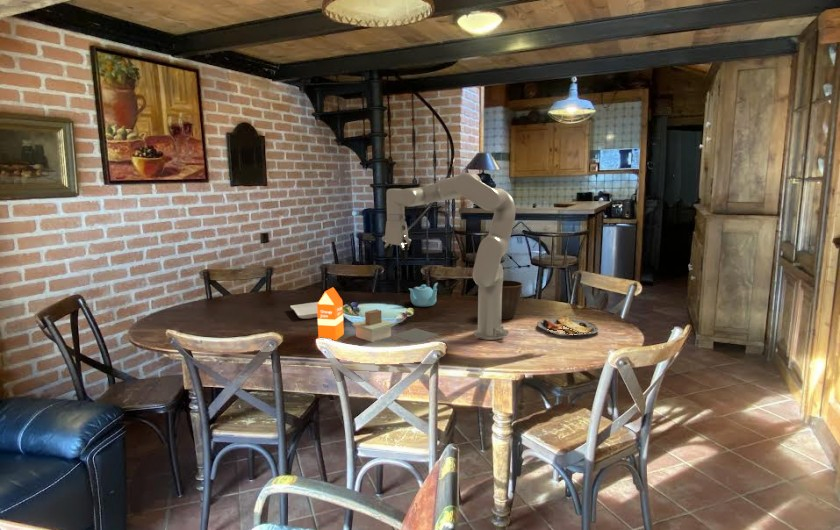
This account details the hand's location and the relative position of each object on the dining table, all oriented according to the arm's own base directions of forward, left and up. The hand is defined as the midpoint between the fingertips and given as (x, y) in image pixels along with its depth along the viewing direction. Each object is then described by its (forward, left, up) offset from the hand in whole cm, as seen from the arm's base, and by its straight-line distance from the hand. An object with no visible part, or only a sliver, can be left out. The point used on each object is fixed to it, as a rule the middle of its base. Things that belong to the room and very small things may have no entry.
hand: (396, 257), depth 224 cm
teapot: (+18, -36, -31) cm, 51 cm away
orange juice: (+9, +29, -31) cm, 43 cm away
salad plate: (+45, +12, -31) cm, 56 cm away
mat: (-16, +5, -30) cm, 35 cm away
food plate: (-57, -45, -31) cm, 79 cm away
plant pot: (-26, -44, -31) cm, 60 cm away
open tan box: (-5, +18, -30) cm, 36 cm away
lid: (-5, +18, -25) cm, 31 cm away
